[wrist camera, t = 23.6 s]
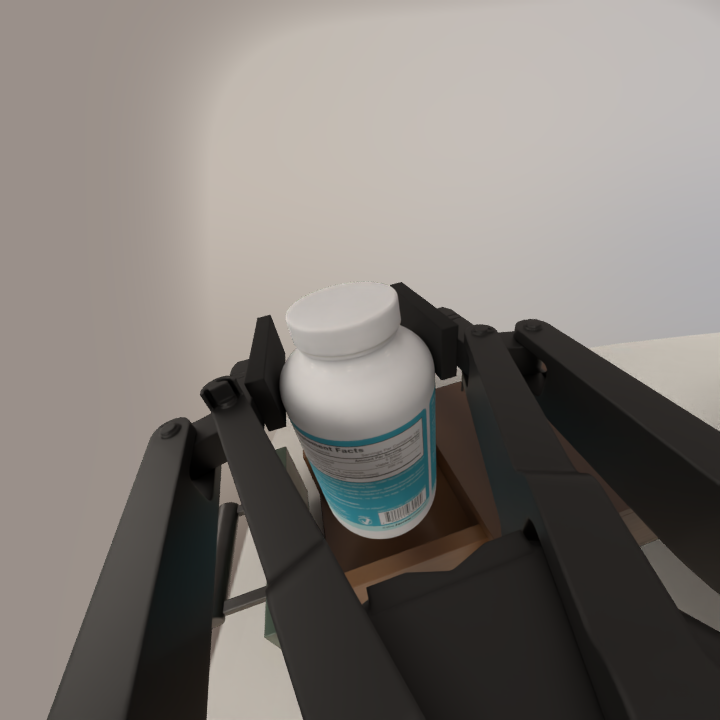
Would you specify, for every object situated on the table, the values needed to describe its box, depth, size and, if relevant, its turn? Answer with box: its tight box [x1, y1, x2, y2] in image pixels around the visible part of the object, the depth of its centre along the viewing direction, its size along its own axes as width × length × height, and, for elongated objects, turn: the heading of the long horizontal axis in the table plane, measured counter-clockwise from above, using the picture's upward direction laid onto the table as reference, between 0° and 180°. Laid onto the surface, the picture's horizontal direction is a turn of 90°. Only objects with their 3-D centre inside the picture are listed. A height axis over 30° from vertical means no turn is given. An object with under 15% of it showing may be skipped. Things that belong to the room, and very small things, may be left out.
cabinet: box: [435, 363, 659, 547], centre depth 22 cm, size 16×13×9 cm
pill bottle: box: [279, 282, 436, 539], centre depth 15 cm, size 8×7×14 cm
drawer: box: [212, 447, 489, 649], centre depth 20 cm, size 20×11×7 cm, turn 104°
